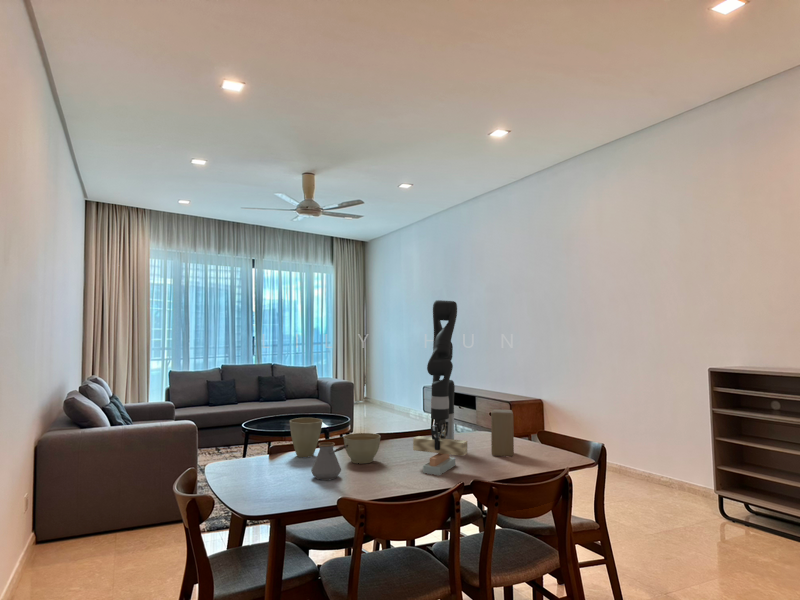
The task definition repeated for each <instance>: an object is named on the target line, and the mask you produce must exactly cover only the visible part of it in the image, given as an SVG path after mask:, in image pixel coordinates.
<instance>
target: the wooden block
mask: <svg viewBox="0 0 800 600" xmlns="http://www.w3.org/2000/svg"><path fill="white" fill-rule="evenodd" d="M490 417H491V418H490V419H491V420H490V422H491V423H490V424H491V425H490V427H491V428H490V429H491V430H490V432H491V434H490V435H491V436H490V438H491V440H490V441H491V445H490V446H491V449H490V450H491V455H492V456H493V457H506V456H511V457H510V458H512V457H514V455H515V453H514V451H515V449H514V448H515V447H514V446H515V444H514V439H515V438H514V437H515V435H514V434H515V433H514V430H515V429H514V412H513V410H512V409H495V408H494V409H492V410H491V411H490Z"/></svg>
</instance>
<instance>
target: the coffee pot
mask: <svg viewBox="0 0 800 600" xmlns="http://www.w3.org/2000/svg"><path fill="white" fill-rule="evenodd" d="M335 445H336V443H335V442H332V441H331V442H330V441H323V442H318V444H317V447H318V448H319V451H318V452H317V455H316V457H315V460H314V463H313V465H312V468H311V473H312V476H314V477H315V479H316V478H317V480H319V479H322V480H321V481H330V480H329V479H332V480H334V478H335V479H336V478H337V477H338V476H339V475H340V473H341V471H342V468H341V465H340V463H339V460H338V457H337V456H336V453H337V452H340V451H343V450H344V449H345V450H346V447H348V446H349V445H342V446H339V447H337V448H336V449H334V448H335V447H334V446H335ZM350 448H351V447H350ZM349 450H350V449H349Z"/></svg>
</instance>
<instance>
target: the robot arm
mask: <svg viewBox="0 0 800 600" xmlns="http://www.w3.org/2000/svg"><path fill="white" fill-rule="evenodd" d="M457 315H458V304H457V302H456V301H453V300H443V299H442V300H439V299H438V300H435V301H433V305H432V324H433V344H432V346H433V347H432V349H433V350H432V353H431V356H430V358H429V360H428V362H427V365H426V370H427V373H428V374H429V376H432V383H431V399H430V418H431V419H432V420H434V421H433V422H434V423H433V425H431V426H430V429H431V430H430V432H431V433H430V434H431V437H432V440H435V450H440V438H443V439H454V440H455V390H456V389H455V387H456V386H455V382H454V381H453V380H452V379H450V378H451V376H452V371H453V368H454V367H453V366H454V365H453V361H452V360H453V353H454V352H453V351H454V350H453V345H454V344H453V343H452V337H453V334H454V330H455V326H456V325H455V324H456V321H457ZM441 321H443V322H445V321H446V322H447V323H446V325H445V326H444V327H443V326H442V322H441ZM441 377H443V378H442V379H441Z"/></svg>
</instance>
